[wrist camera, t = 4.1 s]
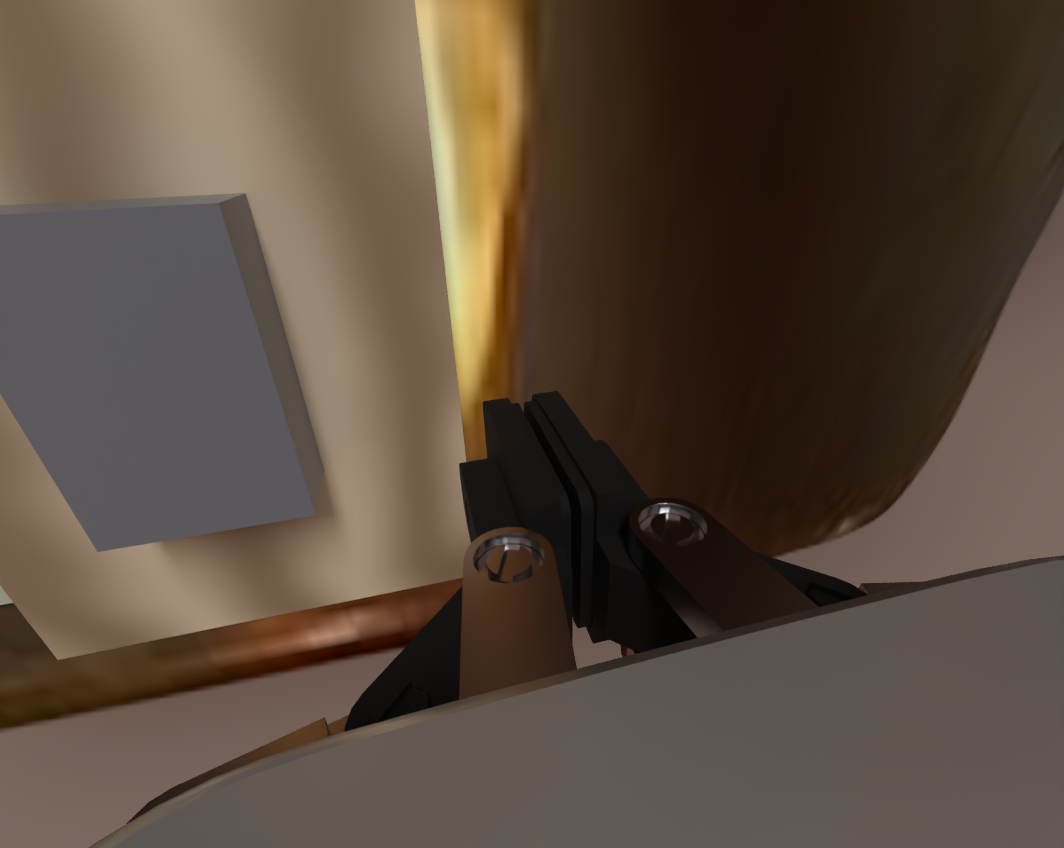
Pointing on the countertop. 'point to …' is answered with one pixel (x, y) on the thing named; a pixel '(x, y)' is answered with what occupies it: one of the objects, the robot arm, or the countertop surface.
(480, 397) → the countertop surface
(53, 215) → the grey flat block
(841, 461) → the countertop surface
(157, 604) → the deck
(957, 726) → the robot arm
